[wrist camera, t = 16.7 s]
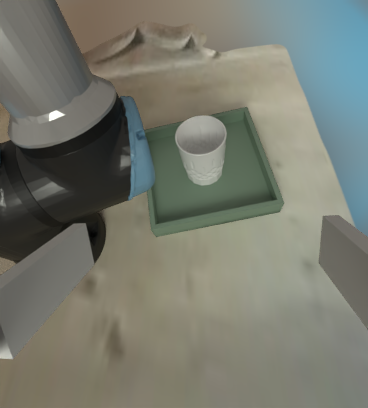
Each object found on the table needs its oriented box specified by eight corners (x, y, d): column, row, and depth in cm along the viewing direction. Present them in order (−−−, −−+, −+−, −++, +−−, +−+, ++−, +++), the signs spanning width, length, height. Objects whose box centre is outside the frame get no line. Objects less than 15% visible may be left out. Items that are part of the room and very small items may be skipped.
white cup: (234, 170, 46) (237, 133, 37) (202, 196, 45) (198, 164, 36) (206, 146, 50) (202, 107, 41) (175, 170, 48) (164, 135, 39)
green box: (156, 236, 44) (151, 230, 41) (145, 142, 54) (140, 130, 50) (279, 212, 43) (284, 202, 40) (245, 119, 52) (247, 106, 49)
